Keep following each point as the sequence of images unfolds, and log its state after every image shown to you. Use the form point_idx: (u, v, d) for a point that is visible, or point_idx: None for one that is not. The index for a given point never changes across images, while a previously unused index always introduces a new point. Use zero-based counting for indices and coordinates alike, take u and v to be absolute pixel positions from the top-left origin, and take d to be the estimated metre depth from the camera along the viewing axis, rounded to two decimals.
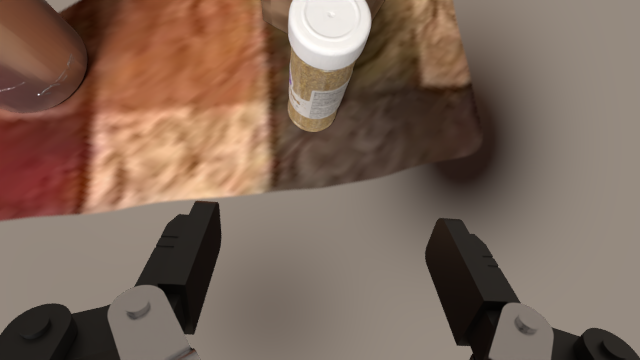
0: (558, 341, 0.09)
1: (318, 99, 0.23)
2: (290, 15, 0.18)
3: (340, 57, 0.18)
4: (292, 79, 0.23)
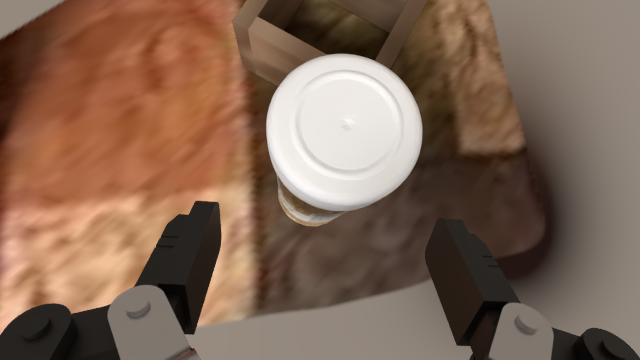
0: (558, 341, 0.09)
1: (323, 217, 0.15)
2: (269, 128, 0.09)
3: (365, 204, 0.09)
4: (280, 187, 0.15)
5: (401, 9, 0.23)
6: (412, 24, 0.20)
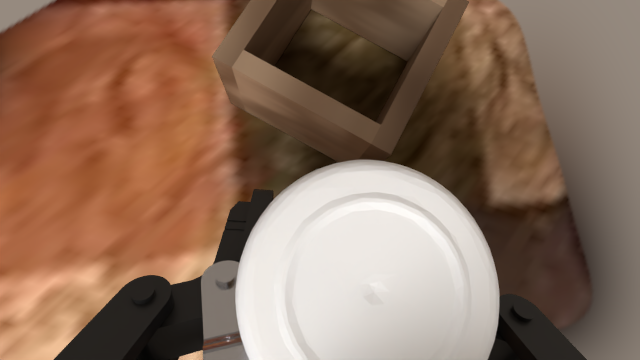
0: None
1: None
2: (239, 303, 0.05)
3: None
4: None
5: (420, 35, 0.19)
6: (437, 58, 0.16)
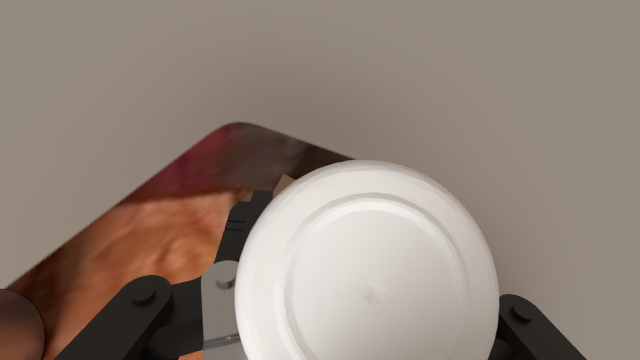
0: None
1: None
2: (238, 303, 0.05)
3: None
4: None
5: None
6: None
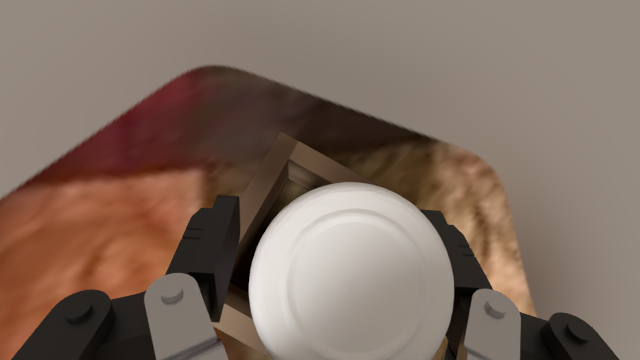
0: (527, 325, 0.09)
1: None
2: (252, 295, 0.07)
3: None
4: None
5: None
6: None
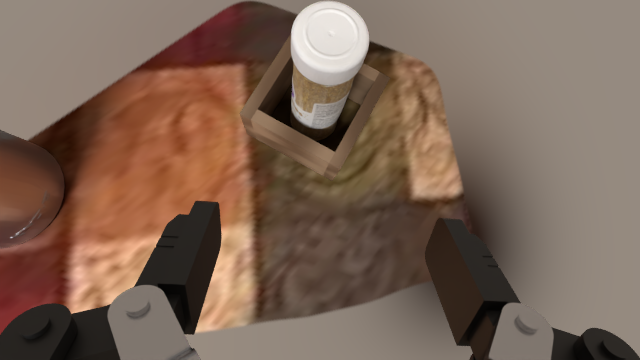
0: (558, 341, 0.09)
1: (320, 111, 0.24)
2: (293, 35, 0.19)
3: (340, 73, 0.19)
4: (294, 92, 0.24)
5: (365, 92, 0.30)
6: (369, 112, 0.27)
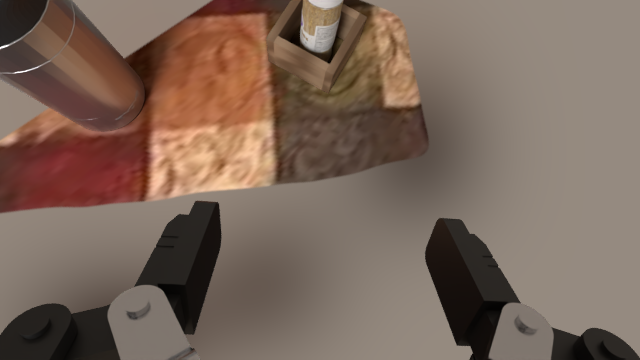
0: (558, 341, 0.09)
1: (320, 33, 0.38)
2: None
3: None
4: (303, 21, 0.38)
5: None
6: (353, 39, 0.41)
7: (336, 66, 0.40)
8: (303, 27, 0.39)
